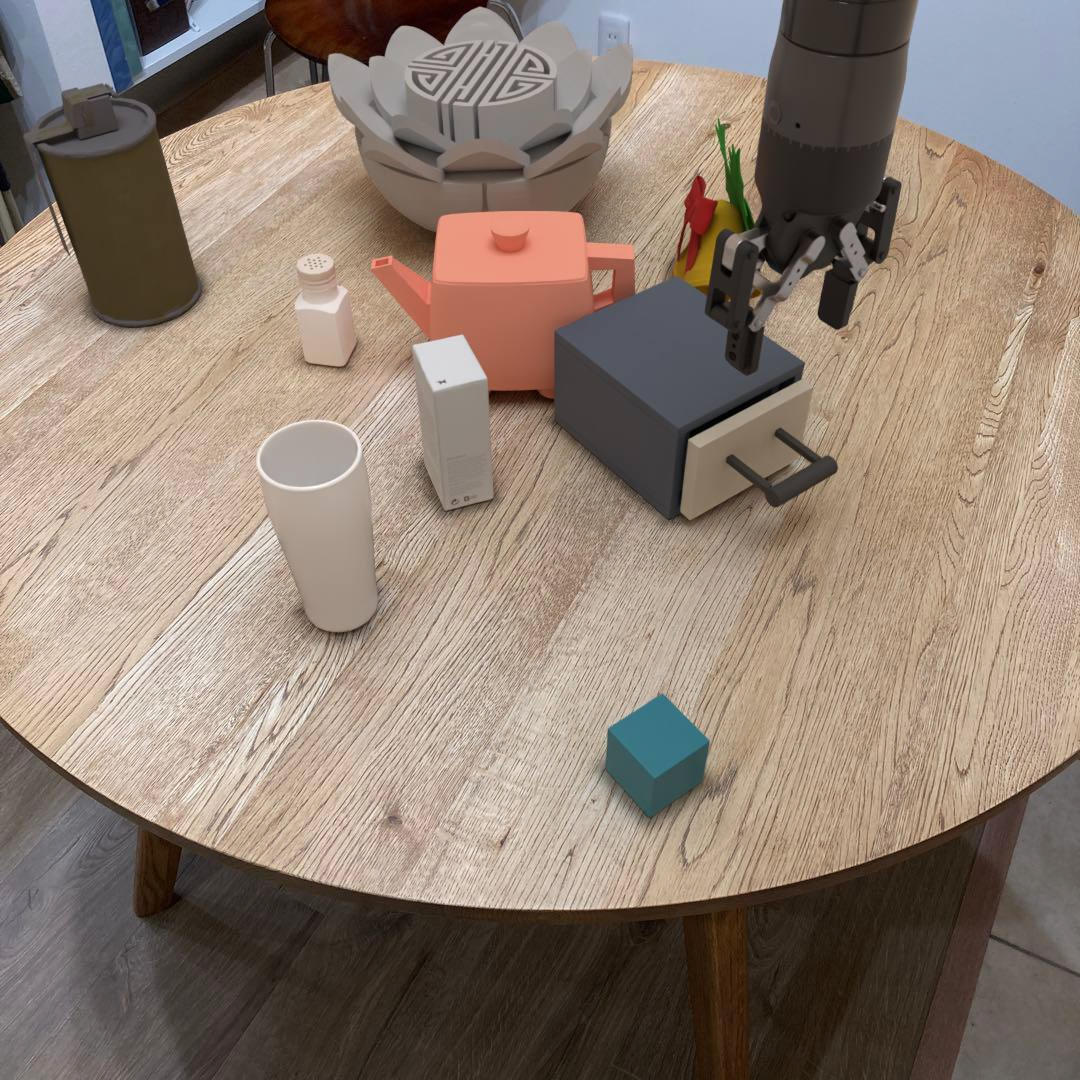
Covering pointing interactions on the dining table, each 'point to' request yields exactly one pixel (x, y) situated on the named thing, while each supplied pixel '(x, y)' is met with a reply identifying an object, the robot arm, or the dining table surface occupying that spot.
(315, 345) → the salt shaker
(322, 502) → the drinking glass
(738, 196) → the ornament
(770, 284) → the robot arm
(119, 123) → the canister
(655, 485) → the storage box
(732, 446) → the drawer
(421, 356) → the cosmetic box
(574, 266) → the teapot
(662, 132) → the dining table surface
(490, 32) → the decorative bowl
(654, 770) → the teal block
